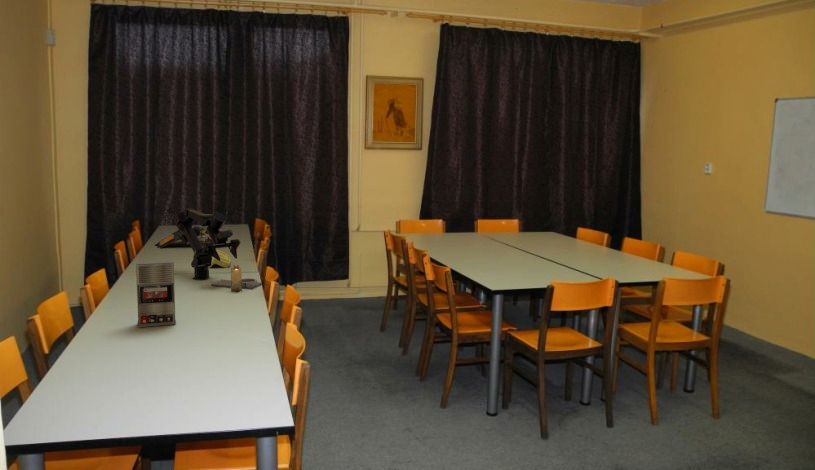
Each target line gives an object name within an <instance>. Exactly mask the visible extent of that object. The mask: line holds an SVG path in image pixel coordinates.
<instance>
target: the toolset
mask: <svg viewBox="0 0 815 470" xmlns="http://www.w3.org/2000/svg"><path fill="white" fill-rule="evenodd" d="M192 228H193V230H194V232H195V234H196V236H197V238H198V240H199V241H200V239H201V240H202V239H204V242H205V243H206V242H211V241H210V240H211V238H210V236H205V231H206V228H204V227H200V226H198V225H197V226H194V227H192ZM178 241H181V242H183V243H184V244H185V245H186V246H188V245H190V244H189V242H188V240H187V238H186V236H185V234H184V232H183V231H181V230H179V229H178V230H176V231H174V232H172V233H171V235H169V236H168V237H165V238H163V239H161V240H160V241H158V242H157V243H155V244H154V246H157V249H163V248H164V247H167V246H168V245H170V244H171V245H172V244H173V243H175V242H178ZM205 243H204V244H205Z"/></svg>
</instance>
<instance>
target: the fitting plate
mask: <svg viewBox="0 0 815 470" xmlns="http://www.w3.org/2000/svg"><path fill="white" fill-rule="evenodd" d="M262 285H263V283H262V282H258V279H257V278H242V290H252V291H253V290H255V289H256V288H258V287H260V286H262ZM210 287H215V288H218V287H219V288H220V287H221V288H229V289H231V279H219V280H217V281H215V282H212V283H211V284H210Z"/></svg>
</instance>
